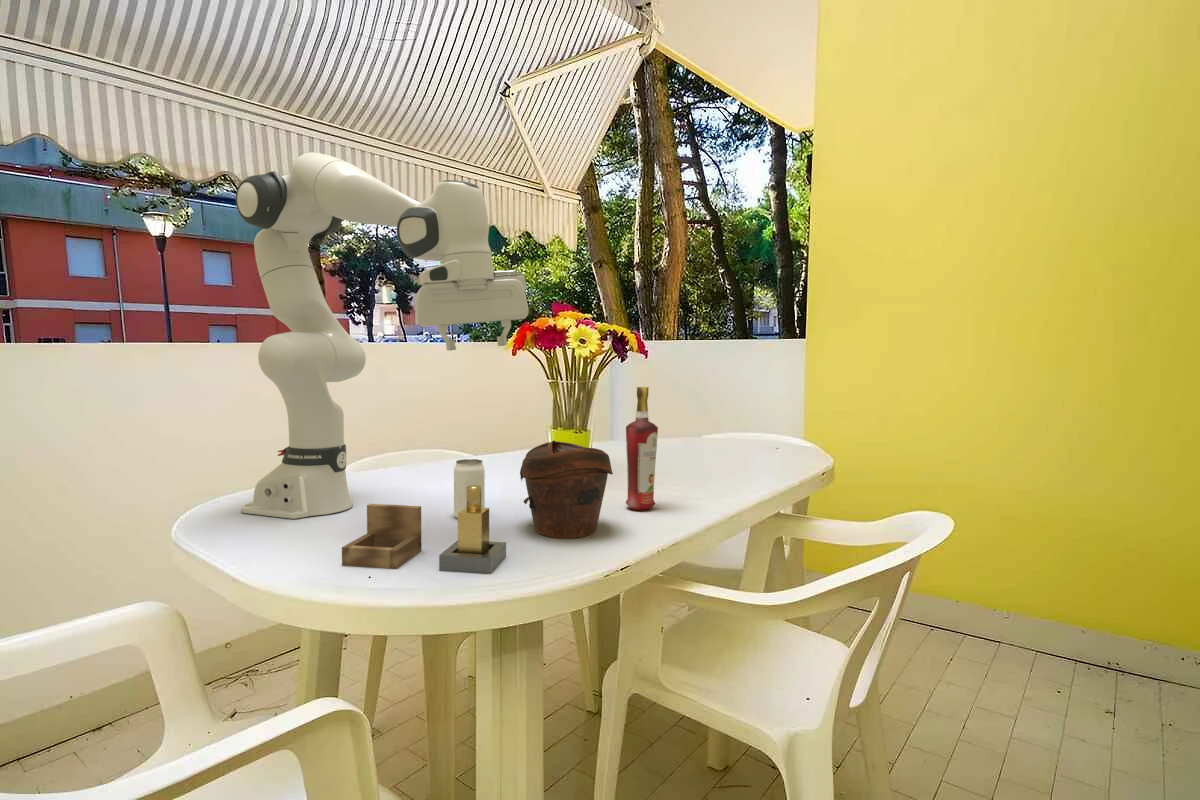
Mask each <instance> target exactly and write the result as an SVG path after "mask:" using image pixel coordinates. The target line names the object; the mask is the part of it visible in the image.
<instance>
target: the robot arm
mask: <svg viewBox="0 0 1200 800" xmlns="http://www.w3.org/2000/svg"><path fill="white" fill-rule="evenodd" d="M236 189H237V190H236V193H235V206H236V209H237V211H238V213H239V216H240V217H241V219H242V220H243V221H244V222H246V223H247V224H248V225H250V226H254V227H256V228H259V229H261V230H260V231H259V232H257V234H256V235H255V237H254V239H253V240H254V241H253V246H254V247H253V248H254V256H255V262H256V267H257V271H258V274H259V278H260V281H261V283H262V288H263V291H264V294H265V296H266V300H267V303H268V305H269V309H270V311H271V313H272V315H273V316H274V317H275V318H276V320H278V321H280V322H281V323H282V324H284V325H286V327H287V328H288V329H289V330H290V331H288V332H282V333H277V334H273V335H270V336H269V337H266V338H265V339H264V340H263V342H262V343H261V344H260V347H259V349H258V350H259V351H258V355H257V358H258V365H259V367H260V370H261V372H262V374H264V376H265V377H266V378H268V379H269V380H270V381H271V382H273V383H274V385H275V386H276V388H277V389H278V390H279V393H280V394H281V397H282V399H283V402H284V404H285V407H286V413H287V422H288V425H287V426H288V446H287V447H285V448H284V449H280V450H277V451H276V452H277V453H278V454H277V457H280V456H283V457H282V460H281V463H280V464H279V465H277V466H276V467H275V468H274V469H272V470H271V471H270V472H268V473H267V474H266V475H265V476H263V477H262V478H261V479H259V480H258V482H257V483H256V484H255V487H254V491H253V499H252V501H250V502H248V503H246V504H245V505H243V506H242V507H241V510H240V511H241V513H243V514H250V515H251V514H252V515H258V516H267V517H276V518H283V519H300V518H302V519H303V518H307V517H312V516H315V517H316V516H323V515H330V514H334V513H340V512H343V511H346V510H348V509H351V508H352V507H353V502H352V498H351V495H350V492H349V487H348V481H347V474H346V468H347V444H345V439H344V438H345V433H344V431H345V430H344V427H345V426H344V425H345V423H344V422H345V421H344V411H343V409H342V407H341V406H340V405H339V404H338V403H337V402H335V400H333V398H332V396H331V394H330V391H329V387H328V383H340V382H343V381H347V380H351V379H352V378H354V377H357V376H358V375H360V373H362V371H363V370H364V368H365V365H366V351H365V348H364V347H363V344H361V343H360V342H359V341H358V340H356V338H354V337H352V335H350V334H349V333H348V332H347V331H346V330H345V328H344V327H343V326H342V324H341V323H340V321H339V320H338V319H337V318H336V316H335V315H334V313H333V312H332V310H331V308H330V306H329V304H328V303H327V301H326V298H325V295H324V292H323V291H322V287H321V285H320V282H319V280H318V276H317V273H316V271H315V270H316V269H315V268H314V265H313V262H312V260H311V256H310V253H309V244H310V242H312V243H315V244H320V243H322V242H323V241H324V240H325V239H326V237H329V236H331V235H332V234H333V233H335V232H336V231H337V230H338V229H339V227H340V226H341V225H342V223H343V221H347V222H352V223H357V224H366V225H376V226H377V225H378V226H386V227H387V226H388V227H389V226H390V227H395V228H396V237H397V242H398V245H399V246H400V248H401V250H402V251H403V252H404V254H405V255H406V256H408V257H410V258H413V259H415V260H416V259H417V260H423V261H433V262H442V264H439V265H438V264H437V265H435V266H433V267H431V268H428V269H425V270H424V271H422V272H421V273H420V274H418V279H419V284H420V285H421V287H420V288H419V289H418V291H417V294H416V299H415V300H416V301H415V316H416V323H417V324H418V325H419V326H420V327H421V328H424V327H426V328H427V327H437V330H438V331H437V332H438V334H439V335H440V337H441V338H442V339H443V340H444V342H445V347H446V351H448V352H449V351H456V350H457V347H456V339H453V340H451V338H450V337H449V336H448V335H447V333H446V332H448V326H450V325H451V326H452V325H466V324H476V323H477V324H479V323H488V322H489V323H490V322H492V323H493V322H500V326H501V327H502V328H503V330H502V331H501V335H499V336H496V340H497V346H498V347H500V346H501V347H502V346H507V345H508V340H507V336H508V334H509V332H510V330H511V327H512V321H515V320H524V319H527V317H528V315H529V314H530V313H529V312H530V311H529V305H528V300H527V296H526V290H527V283H526V277H525V276H524V274H522V273H521V272H519V271H517V269H510V270H494V264H493V256H492V255H493V254H492V250H491V247H490V244H489V233H490V226H489V218H488V211H487V210H488V209H487V204H486V201H485V197H484V194H483V191H482V189H481V188H480V187H479V186H478V185H476V184H475V183H472V182H469V181H463V180H457V179H455V180H454V179H446V180H442V181H440V182H438V184H436V186H435V189H434V190H433V192H432V193H431V194H430V196H428V197H427V198H426V199H424V200H423V201H422V202H421V201H420V200H417V199H415V198H413V197H410V196H408V195H406V194H404V193H402V192H401V191H399V190H397V189H396V188H394V187H392V186H390V185H388V184H387V183H385V182H383V181H382V180H380V179H378V178H377V177H375V176H374V175H371V174H370V173H368V172H367V171H365V170H363V169H362V168H360V167H358V166H356V165H354V164H352V163H350V162H348V161H347V160H344V159H341V158H339V157H335V156H333V155H330V154H325V153H321V152H316V151H315V152H313V151H312V152H311V151H309V152H306V153H304V154H301V155H299V157H297V158H296V159H295V160H294V162H293V164H292V166H291V170H290V172H289V173H288V174H286V175H280V174H278V172H276V171H274V170H273V171H269V172H266V173H263V174H262V173H261V174H254V175H250V176H248V177H246V178H245V179H243V180H242V181H241V182H240V183H239V185H238V186H237V188H236Z"/></svg>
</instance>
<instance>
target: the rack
mask: <svg viewBox="0 0 1200 800" xmlns="http://www.w3.org/2000/svg"><path fill="white" fill-rule="evenodd" d="M420 552H422V506H421V505H408V504H406V505H404V504H387V503H386V504H384V503H383V504H382V503H368V504H367V505H366V533H365V534H363V535H362V536H359V537H358V538H355V540H353V541H351V542H349V543H347V544H345V545H343V546H342V547H341V566H349V567H363V568H379V569H381V568H382V569H395V570H396V569H398V568H400V567H402V566H403V565H404V564H406V563H407V562H408V561H409V560H411V559H412V558H414V557H415V556H416V555H418V554H419V553H420Z"/></svg>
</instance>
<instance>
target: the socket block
mask: <svg viewBox="0 0 1200 800" xmlns="http://www.w3.org/2000/svg"><path fill="white" fill-rule="evenodd" d="M506 557H507V542H506V541H490V540H489V551H488V552H487V553H486V554H485V555H482V554H464V553H458V539H457V540H456V541H455V542H454V543H452V544H451V545H450V546H449V547H447V548H446V549H445V550H444V551H442V552H441V553H440V554H439V555H438V563H439V564H438V567H439V568H438V569H439V571H443V572H444V571H445V572H458V573H459V572H462V573H476V574H489V575H490V574H492V573H493V572H494V570H496V569H497V567H498V566H499V565H500V564H501V563H502V562H503V561H504V560H505V559H506Z"/></svg>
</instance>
